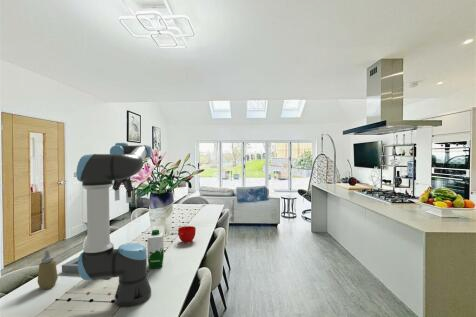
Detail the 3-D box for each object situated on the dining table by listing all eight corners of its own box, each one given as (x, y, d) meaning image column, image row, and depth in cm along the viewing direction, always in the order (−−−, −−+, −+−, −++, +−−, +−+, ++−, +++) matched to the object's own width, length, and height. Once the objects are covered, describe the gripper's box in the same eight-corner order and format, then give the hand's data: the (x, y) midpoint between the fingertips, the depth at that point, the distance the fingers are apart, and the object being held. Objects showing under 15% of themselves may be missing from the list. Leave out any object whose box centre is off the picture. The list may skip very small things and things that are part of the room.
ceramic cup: (172, 245, 180) (172, 232, 180) (183, 238, 197) (182, 225, 197) (189, 247, 177) (188, 232, 177) (198, 239, 194) (198, 226, 194)
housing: (88, 273, 138) (88, 266, 138) (61, 272, 140) (61, 265, 140) (114, 256, 162) (114, 250, 162) (92, 255, 164) (92, 249, 164)
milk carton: (163, 261, 152) (163, 228, 152) (163, 268, 143) (163, 233, 144) (148, 263, 150) (148, 230, 150) (147, 270, 141) (146, 234, 141)
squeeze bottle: (55, 281, 130) (54, 246, 130) (60, 285, 125) (59, 249, 125) (35, 287, 124) (34, 250, 124) (39, 292, 119) (39, 254, 119)
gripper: (138, 167, 153) (139, 202, 153) (117, 166, 168) (118, 198, 168) (127, 168, 147) (127, 204, 147) (106, 167, 162) (107, 200, 162)
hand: (122, 201), depth 158 cm, fingers open, 13 cm apart
